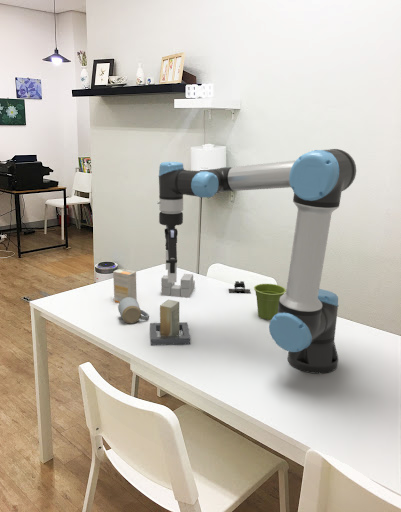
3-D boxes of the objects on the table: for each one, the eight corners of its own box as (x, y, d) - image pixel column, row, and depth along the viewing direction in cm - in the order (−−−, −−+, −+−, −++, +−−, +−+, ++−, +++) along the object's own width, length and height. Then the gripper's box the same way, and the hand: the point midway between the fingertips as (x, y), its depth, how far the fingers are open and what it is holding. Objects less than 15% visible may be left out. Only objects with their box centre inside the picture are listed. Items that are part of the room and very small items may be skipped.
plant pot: (269, 325, 177) (271, 296, 174) (245, 315, 185) (247, 287, 182) (290, 317, 184) (292, 289, 181) (266, 308, 193) (268, 281, 190)
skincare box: (168, 331, 170) (168, 298, 166) (179, 334, 168) (180, 301, 165) (159, 339, 164) (159, 304, 161) (170, 341, 162) (170, 307, 159)
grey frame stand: (190, 344, 161) (190, 338, 160) (150, 345, 159) (150, 339, 159) (183, 308, 190) (183, 303, 190) (149, 309, 189) (149, 304, 188)
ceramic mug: (122, 326, 174) (121, 305, 172) (118, 317, 181) (117, 297, 179) (151, 322, 177) (151, 302, 175) (146, 314, 185) (146, 295, 183)
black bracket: (252, 289, 215) (253, 280, 214) (254, 295, 208) (255, 285, 207) (224, 289, 215) (225, 279, 214) (225, 295, 208) (225, 284, 207)
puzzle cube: (194, 288, 214) (195, 271, 212) (189, 298, 203) (189, 280, 200) (167, 286, 216) (168, 269, 214) (161, 296, 204) (161, 277, 202)
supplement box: (137, 302, 196) (136, 271, 192) (129, 306, 192) (128, 274, 188) (121, 298, 200) (120, 267, 197) (113, 301, 196) (112, 270, 193)
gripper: (157, 204, 166) (158, 264, 172) (160, 219, 142) (160, 288, 148) (179, 204, 167) (179, 264, 173) (186, 219, 143) (185, 287, 149)
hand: (170, 275), depth 160 cm, fingers open, 13 cm apart
